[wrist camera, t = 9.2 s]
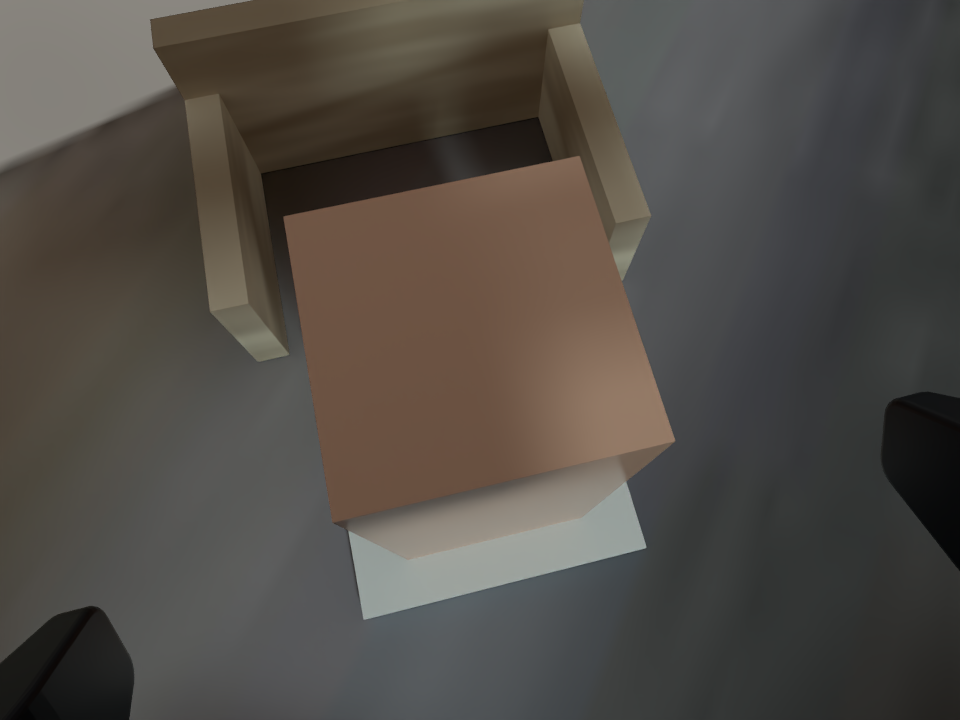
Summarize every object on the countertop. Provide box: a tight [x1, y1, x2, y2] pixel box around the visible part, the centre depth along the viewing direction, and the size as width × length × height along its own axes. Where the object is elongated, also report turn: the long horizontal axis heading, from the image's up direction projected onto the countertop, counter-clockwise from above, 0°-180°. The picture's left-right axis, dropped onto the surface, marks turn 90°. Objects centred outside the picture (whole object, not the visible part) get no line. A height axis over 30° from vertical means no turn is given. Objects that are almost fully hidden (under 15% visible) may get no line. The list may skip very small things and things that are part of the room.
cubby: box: [150, 0, 651, 362], centre depth 20 cm, size 8×12×6 cm, turn 104°
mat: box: [348, 482, 647, 620], centre depth 20 cm, size 8×8×1 cm
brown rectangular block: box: [283, 156, 675, 560], centre depth 15 cm, size 5×5×10 cm
